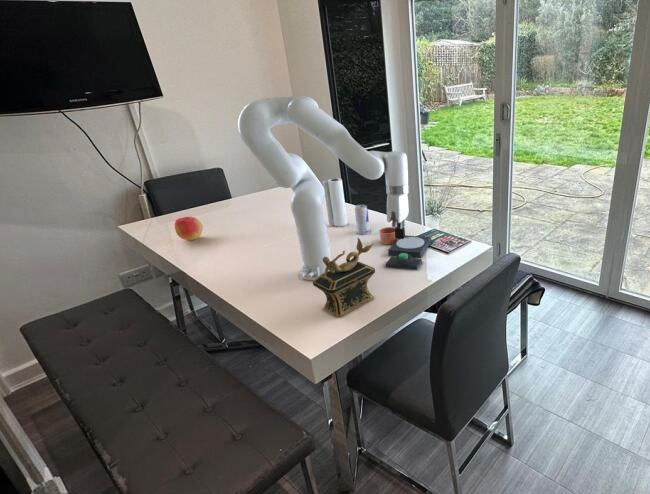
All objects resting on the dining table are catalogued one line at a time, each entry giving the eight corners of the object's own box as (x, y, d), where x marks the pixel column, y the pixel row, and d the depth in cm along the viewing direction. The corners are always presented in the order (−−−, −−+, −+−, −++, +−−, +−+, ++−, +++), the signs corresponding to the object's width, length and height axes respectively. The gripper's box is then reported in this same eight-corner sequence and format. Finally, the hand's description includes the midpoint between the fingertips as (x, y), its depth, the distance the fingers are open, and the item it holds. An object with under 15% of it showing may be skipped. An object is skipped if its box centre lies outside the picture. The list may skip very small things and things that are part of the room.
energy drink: (371, 230, 182) (368, 204, 177) (367, 234, 177) (364, 208, 172) (359, 229, 182) (356, 204, 178) (355, 234, 178) (352, 208, 173)
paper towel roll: (350, 222, 191) (344, 178, 182) (343, 227, 185) (337, 181, 177) (336, 221, 192) (330, 177, 184) (329, 226, 187) (322, 180, 178)
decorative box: (336, 321, 118) (326, 260, 110) (316, 310, 123) (305, 251, 115) (387, 292, 132) (382, 237, 124) (368, 284, 138) (361, 230, 130)
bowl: (394, 245, 166) (393, 234, 164) (378, 244, 167) (376, 233, 165) (400, 239, 172) (399, 227, 170) (384, 237, 174) (383, 226, 172)
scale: (420, 258, 155) (420, 251, 154) (388, 255, 158) (388, 249, 157) (431, 242, 169) (431, 236, 168) (401, 240, 171) (401, 234, 170)
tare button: (406, 260, 148) (405, 256, 147) (397, 260, 148) (397, 256, 147) (409, 256, 150) (408, 253, 150) (400, 256, 151) (400, 252, 150)
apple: (190, 244, 169) (183, 222, 165) (173, 242, 172) (166, 220, 168) (210, 236, 177) (204, 214, 173) (194, 233, 180) (187, 212, 176)
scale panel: (417, 270, 146) (416, 262, 145) (385, 267, 149) (384, 259, 147) (422, 262, 152) (421, 255, 151) (391, 259, 154) (390, 252, 153)
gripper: (394, 182, 147) (397, 229, 154) (378, 194, 133) (382, 245, 140) (414, 183, 145) (416, 231, 152) (400, 195, 132) (403, 247, 139)
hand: (400, 237), depth 146 cm, fingers closed
